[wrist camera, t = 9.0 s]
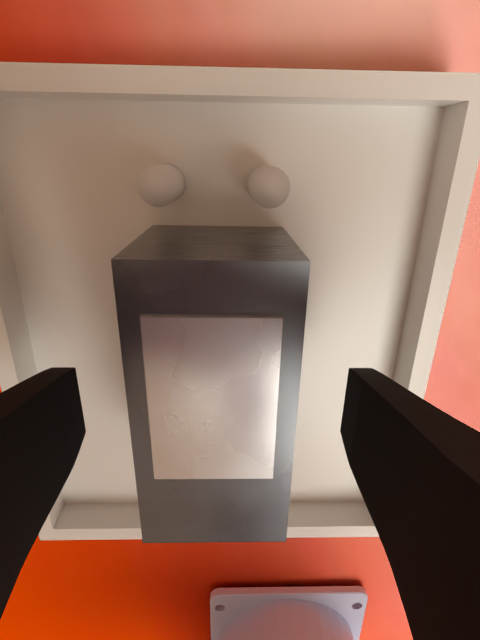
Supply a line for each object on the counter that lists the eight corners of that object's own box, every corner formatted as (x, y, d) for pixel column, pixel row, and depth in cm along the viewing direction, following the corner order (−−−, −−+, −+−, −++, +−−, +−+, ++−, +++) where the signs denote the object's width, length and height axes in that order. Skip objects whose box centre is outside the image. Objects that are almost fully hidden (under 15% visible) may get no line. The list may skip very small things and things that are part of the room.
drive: (270, 436, 15) (286, 544, 11) (167, 436, 15) (141, 546, 11) (282, 226, 12) (311, 262, 8) (152, 224, 12) (109, 260, 8)
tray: (373, 493, 18) (400, 555, 15) (62, 495, 17) (30, 559, 14) (451, 89, 12) (521, 65, 9) (-26, 78, 11) (-112, 50, 8)
